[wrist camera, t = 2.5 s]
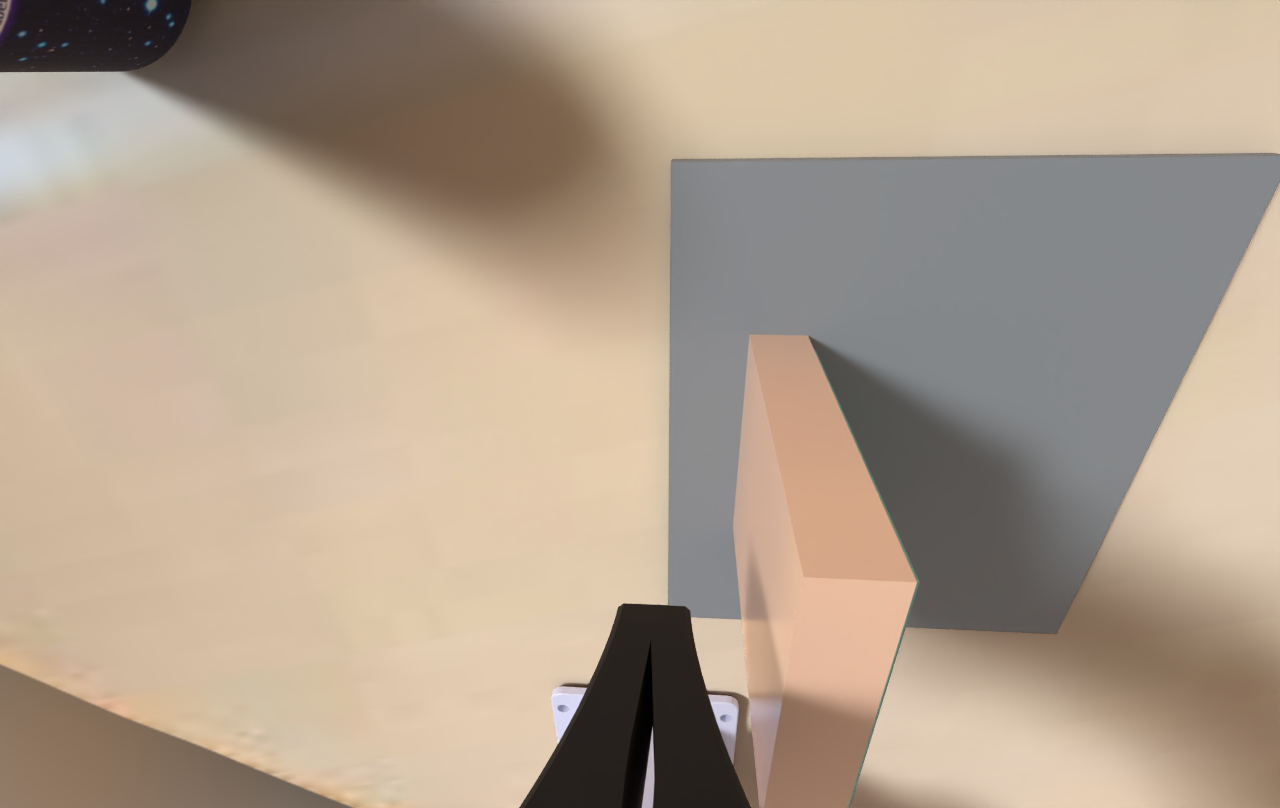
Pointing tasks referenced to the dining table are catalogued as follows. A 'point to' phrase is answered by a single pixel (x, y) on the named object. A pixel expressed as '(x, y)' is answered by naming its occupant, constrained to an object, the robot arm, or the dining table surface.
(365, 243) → the dining table surface
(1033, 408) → the slate pad
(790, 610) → the tile
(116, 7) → the beverage can
